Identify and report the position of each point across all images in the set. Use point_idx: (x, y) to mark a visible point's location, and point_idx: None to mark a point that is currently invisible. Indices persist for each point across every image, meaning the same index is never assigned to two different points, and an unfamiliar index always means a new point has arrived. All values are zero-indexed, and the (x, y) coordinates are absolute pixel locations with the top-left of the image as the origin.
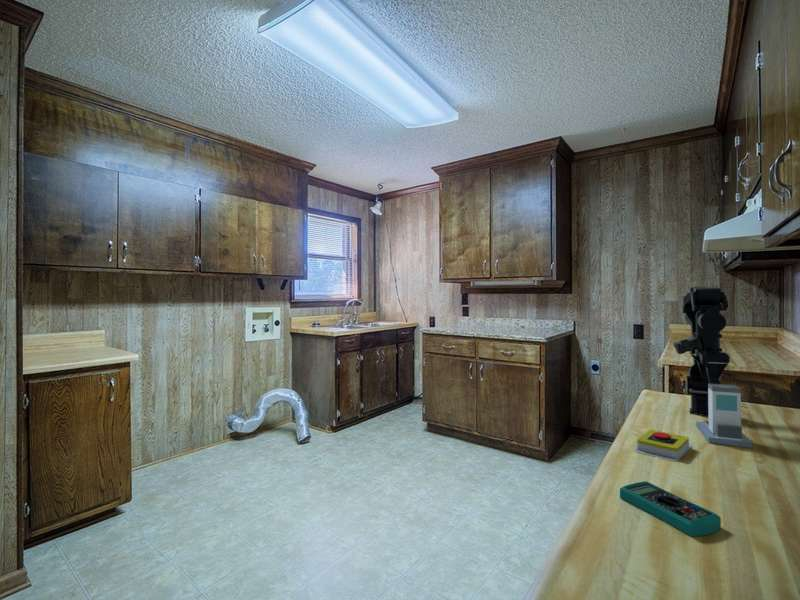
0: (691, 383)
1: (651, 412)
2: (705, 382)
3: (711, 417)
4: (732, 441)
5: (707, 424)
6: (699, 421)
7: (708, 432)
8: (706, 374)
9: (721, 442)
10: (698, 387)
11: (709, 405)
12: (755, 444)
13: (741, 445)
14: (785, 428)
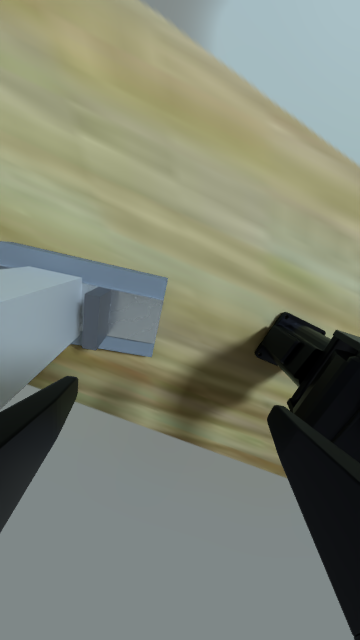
0: (351, 360)
1: (306, 198)
2: (327, 411)
3: (8, 275)
4: None
5: (125, 292)
6: (165, 288)
7: (51, 263)
8: (288, 452)
9: None
10: (323, 372)
11: (6, 289)
12: None
13: None
14: (184, 432)
